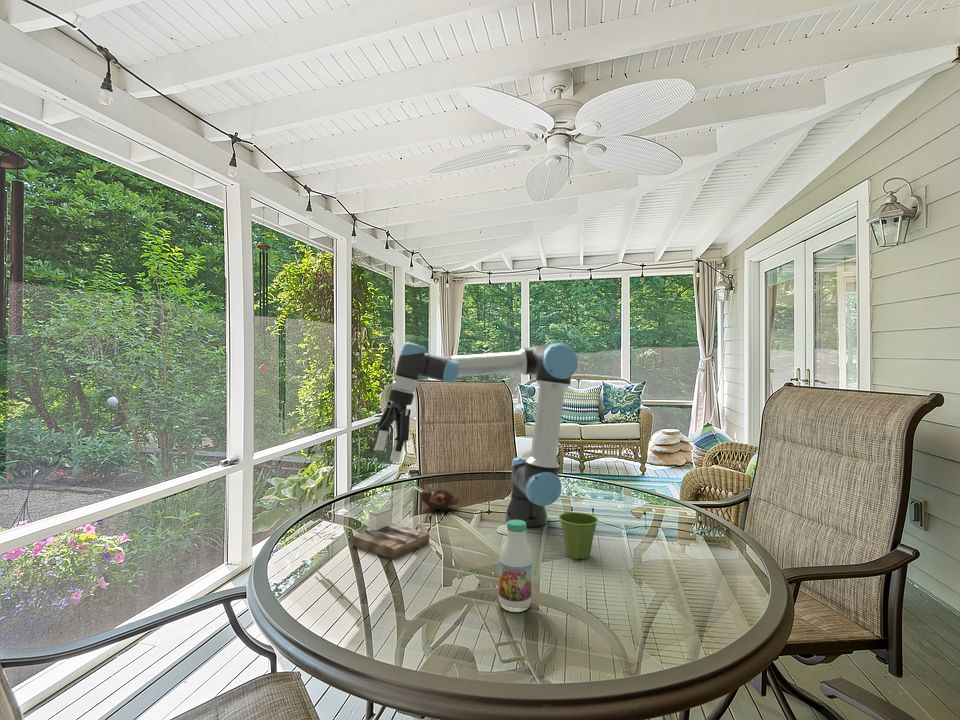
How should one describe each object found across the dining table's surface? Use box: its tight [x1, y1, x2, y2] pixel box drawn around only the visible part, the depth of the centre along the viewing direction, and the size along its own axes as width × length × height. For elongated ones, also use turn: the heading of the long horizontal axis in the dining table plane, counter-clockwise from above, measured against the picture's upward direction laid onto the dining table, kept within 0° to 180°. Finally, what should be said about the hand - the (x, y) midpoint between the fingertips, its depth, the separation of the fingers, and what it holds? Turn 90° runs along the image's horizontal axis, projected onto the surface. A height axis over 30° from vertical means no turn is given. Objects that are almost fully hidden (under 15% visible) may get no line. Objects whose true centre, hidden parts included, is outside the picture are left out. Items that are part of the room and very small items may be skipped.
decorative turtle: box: [420, 488, 460, 513], centre depth 190 cm, size 10×15×8 cm, turn 115°
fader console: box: [352, 522, 430, 560], centre depth 153 cm, size 17×16×4 cm
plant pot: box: [558, 511, 599, 560], centre depth 149 cm, size 12×12×11 cm
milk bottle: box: [498, 520, 533, 608], centre depth 117 cm, size 8×8×20 cm
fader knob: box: [368, 506, 393, 533], centre depth 156 cm, size 3×7×6 cm, turn 148°
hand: (386, 455), depth 156 cm, fingers open, 13 cm apart
